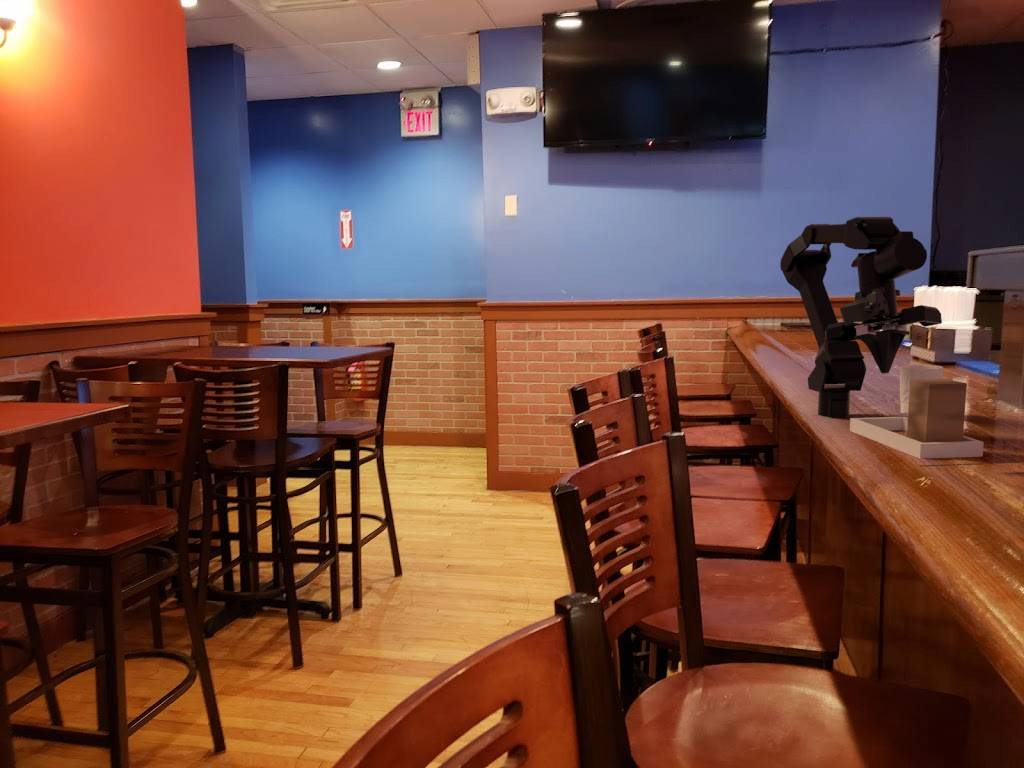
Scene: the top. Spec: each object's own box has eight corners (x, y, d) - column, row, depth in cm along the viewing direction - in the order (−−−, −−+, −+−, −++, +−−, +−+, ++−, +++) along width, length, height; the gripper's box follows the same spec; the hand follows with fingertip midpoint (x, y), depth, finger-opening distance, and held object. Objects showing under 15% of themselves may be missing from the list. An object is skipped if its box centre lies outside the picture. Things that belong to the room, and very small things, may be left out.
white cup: (948, 418, 155) (951, 368, 154) (908, 418, 155) (911, 369, 154) (928, 411, 163) (931, 364, 161) (890, 411, 163) (892, 364, 162)
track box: (849, 437, 139) (850, 418, 138) (903, 435, 140) (904, 416, 139) (919, 466, 118) (920, 444, 118) (982, 464, 119) (983, 441, 118)
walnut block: (906, 447, 125) (910, 379, 123) (941, 446, 125) (946, 378, 124) (924, 454, 120) (929, 384, 118) (961, 453, 120) (966, 383, 119)
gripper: (802, 293, 141) (809, 378, 139) (900, 267, 126) (910, 363, 124) (840, 298, 147) (848, 380, 145) (938, 275, 132) (948, 366, 130)
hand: (885, 373), depth 136 cm, fingers closed
